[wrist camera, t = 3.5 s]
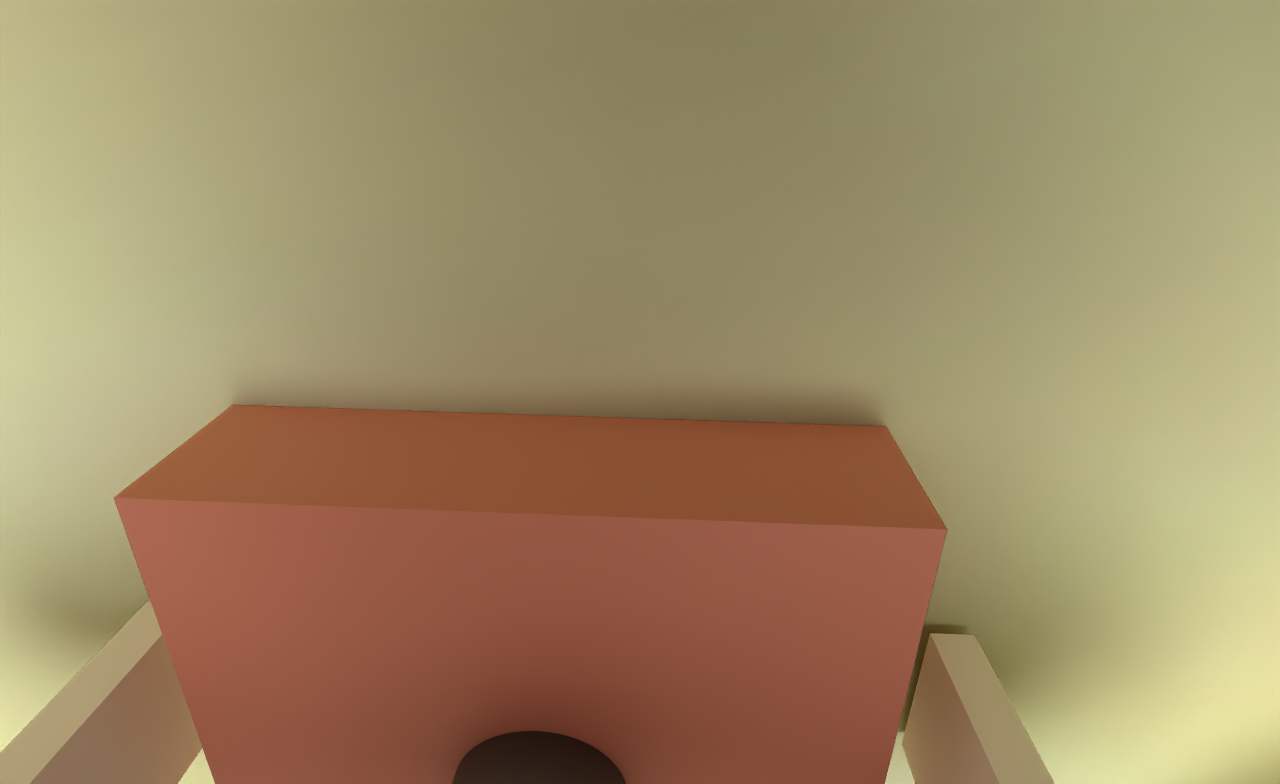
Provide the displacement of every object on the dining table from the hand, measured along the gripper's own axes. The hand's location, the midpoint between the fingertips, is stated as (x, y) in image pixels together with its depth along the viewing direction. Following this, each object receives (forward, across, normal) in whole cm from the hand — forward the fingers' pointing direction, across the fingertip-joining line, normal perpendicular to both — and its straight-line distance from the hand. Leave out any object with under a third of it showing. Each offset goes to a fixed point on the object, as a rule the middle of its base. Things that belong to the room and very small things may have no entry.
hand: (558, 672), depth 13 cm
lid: (+1, 0, 0) cm, 1 cm away
